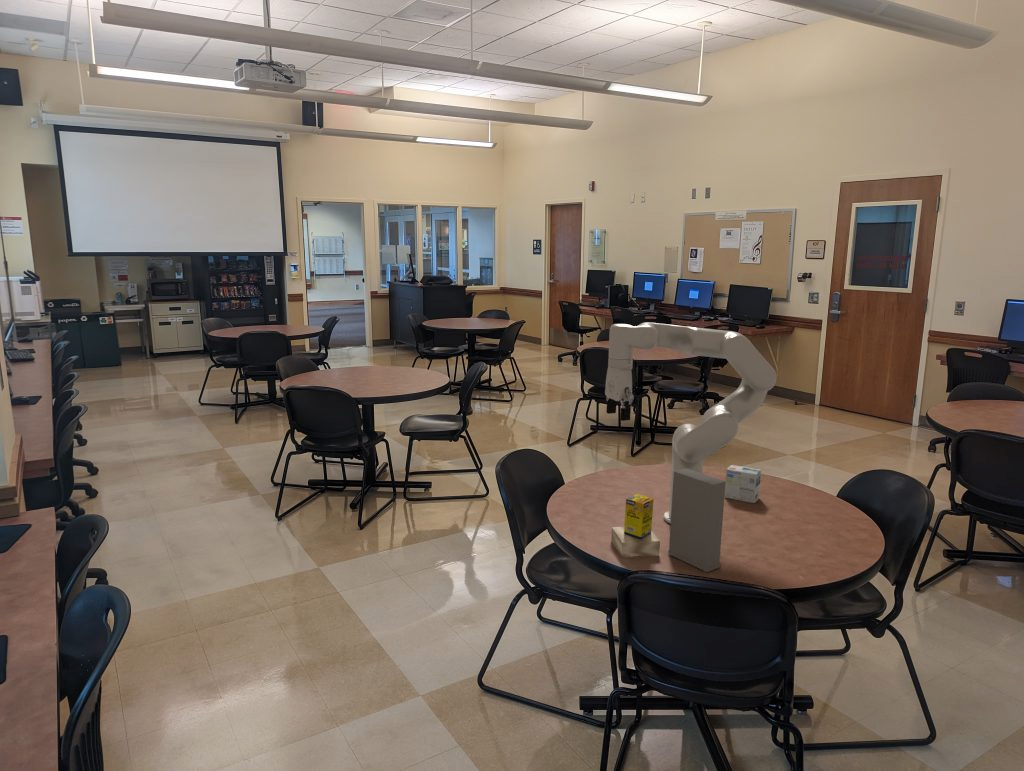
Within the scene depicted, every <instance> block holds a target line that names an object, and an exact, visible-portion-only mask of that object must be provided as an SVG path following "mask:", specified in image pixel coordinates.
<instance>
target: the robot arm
mask: <svg viewBox="0 0 1024 771" xmlns="http://www.w3.org/2000/svg"><path fill="white" fill-rule="evenodd" d="M608 338H609V340H608V359H607V360H608V362H607V363H608V364H607V366H608V367H607V371H606V377H605V388H604V394H605V396H606V398H605V400H606V411H605V412H606V414H616V413H617V402H620V404H621V407H620V418H619V419H620V421H623V422H624V421H631V410H632V406H633V404H634V399H635V396H634V394H633V374H632V370H633V362H634V359H633V357H634V349H640V350H647V351H648V350H652V349H654V348H657V347H659V348H666V349H671V350H675V351H678V352H681V353H683V354H686V355H691V356H695V357H696V356H699V357H709V358H716V359H726V360H727V362H728V363H729V364H730V365H731V367H732V368H733V369H734V370H735V372H736V373H737V374H738V375H739V376H740V377H741V381H740V384H739V386H738V388H737V389H735V390H734V391H733V392H732V393H730V394H729V395H728V396H726V397H725V398H723V399H722V400H720V401H719V402H717V404H714V405H713V406H711V407H710V408H708V409H706V411H705V412H704V413H703V416H702V422H701V423H700V424H698V425H696V424H693V423H683V424H681V425H679V426H678V427H677V428H676V429H675V430H674V433H673V434H672V439H671V440H672V441H671V442H672V443H671V445H672V446H671V448H672V449H671V452H672V454H671V456H672V458H671V473H670V489H669V505H668V506H669V508H668V511H666V512H664V513H663V519H664V521H665V522H667V523H669V524H670V525H671V510H672V493H673V477H674V471H677V470H681V469H685V468H687V469H690V470H693V471H696V472H699V473H702V474H703V469H704V468H703V467H704V466H703V465H704V460H705V459H706V458H708V457H709V456H711V455H712V454H714V453H716V452H717V451H718V450H720V449H721V448H723V447H724V446H726V445H728V444H729V443H730V442H731V441H733V439H734V438H735V437H736V436H737V434H738V432H739V423H741V422H742V421H744V420H746V419H747V418H748V417H750V415H752V414H754V412H756V411H757V410H758V409H759V408H760V407H761V406H762V404H763V402H764V401H765V399H766V397H767V394H768V391H770V390H772V388H774V387H775V385H776V384H777V377H778V376H777V373H776V370H775V369H774V367H772V365H771V364H770V363H769V362H768V361H767V360H766V358H765V357H764V356H763V355H762V353H760V352H759V350H758V349H757V348H756V347H755V346H754V345H753V343H752V341H750V339H749V338H747V337H746V336H745V335H743V334H742V333H740V332H737V331H732V330H724V329H723V330H722V329H713V328H702V327H693V326H687V325H686V326H684V325H675V324H666V323H658V322H657V323H656V322H648V321H647V322H642V323H640V324H638V325H637V326H636V325H635V326H633V325H631V324H627V323H613V324H612V325H611V326H610V328H609V337H608Z"/></svg>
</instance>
